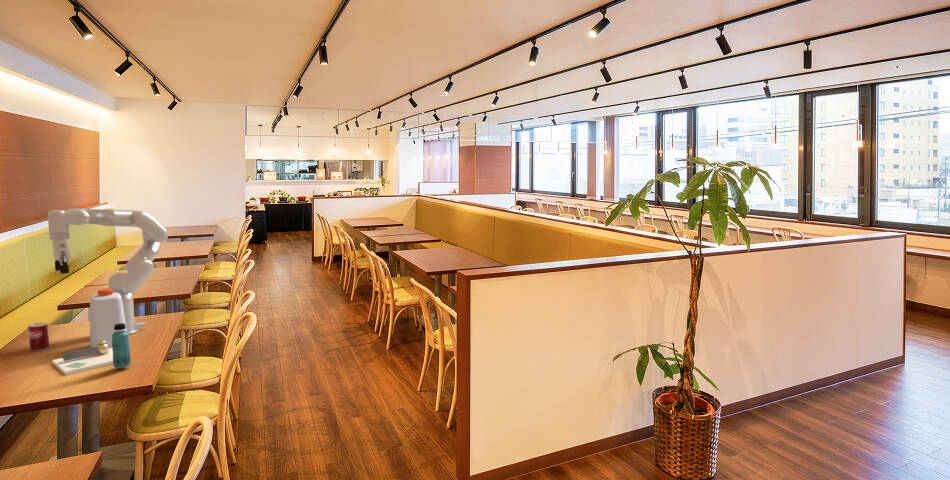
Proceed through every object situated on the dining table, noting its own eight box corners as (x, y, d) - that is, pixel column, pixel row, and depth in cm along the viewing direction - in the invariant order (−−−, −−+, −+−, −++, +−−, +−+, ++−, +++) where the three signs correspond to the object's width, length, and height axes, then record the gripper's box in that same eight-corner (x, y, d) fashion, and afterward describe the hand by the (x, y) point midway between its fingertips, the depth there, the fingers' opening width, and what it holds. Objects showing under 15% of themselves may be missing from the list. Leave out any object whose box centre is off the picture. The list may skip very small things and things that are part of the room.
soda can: (38, 352, 247) (36, 327, 246) (25, 351, 249) (23, 326, 247) (53, 347, 254) (51, 323, 253) (41, 346, 256) (39, 321, 254)
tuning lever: (106, 350, 246) (105, 339, 245) (109, 352, 243) (109, 341, 242) (62, 360, 233) (61, 348, 232) (65, 362, 230) (64, 350, 230)
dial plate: (112, 350, 252) (112, 346, 252) (128, 360, 240) (127, 356, 239) (52, 363, 234) (52, 359, 234) (65, 375, 222) (65, 371, 222)
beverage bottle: (118, 366, 233) (115, 321, 230) (134, 365, 234) (131, 321, 231) (110, 371, 227) (106, 326, 224) (126, 371, 227) (123, 326, 224)
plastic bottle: (129, 347, 256) (125, 290, 253) (90, 353, 247) (86, 294, 244) (126, 339, 268) (122, 284, 265) (89, 344, 259) (85, 288, 255)
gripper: (74, 237, 249) (76, 273, 251) (64, 233, 260) (67, 268, 262) (54, 238, 243) (56, 275, 245) (45, 235, 254) (48, 270, 256)
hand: (62, 271), depth 254 cm, fingers open, 9 cm apart
